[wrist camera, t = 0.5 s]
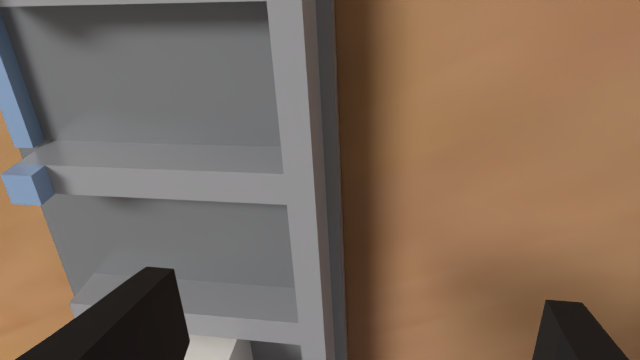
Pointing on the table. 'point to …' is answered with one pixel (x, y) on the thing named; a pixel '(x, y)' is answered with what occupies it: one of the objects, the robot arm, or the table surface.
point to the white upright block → (218, 348)
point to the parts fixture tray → (187, 157)
